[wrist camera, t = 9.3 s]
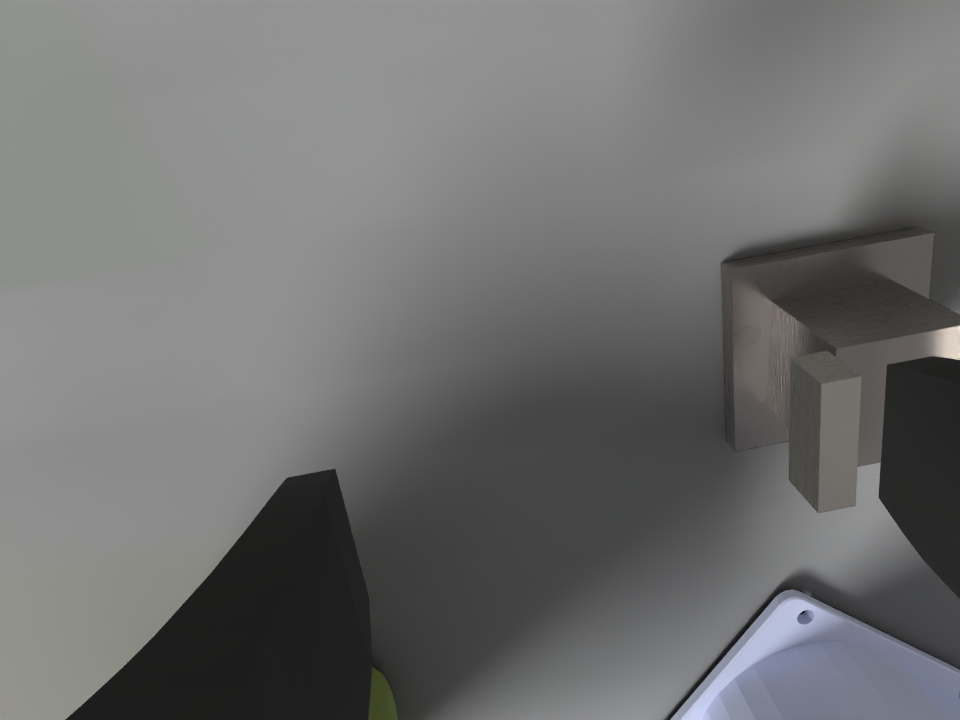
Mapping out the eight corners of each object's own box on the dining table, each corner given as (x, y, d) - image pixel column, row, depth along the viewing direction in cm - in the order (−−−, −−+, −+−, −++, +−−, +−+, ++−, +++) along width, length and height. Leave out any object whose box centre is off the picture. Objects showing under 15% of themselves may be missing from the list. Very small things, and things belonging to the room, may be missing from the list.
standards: (905, 406, 22) (1041, 507, 17) (726, 440, 21) (817, 552, 17) (965, -404, 15) (1218, -586, 10) (703, -365, 15) (844, -534, 10)
